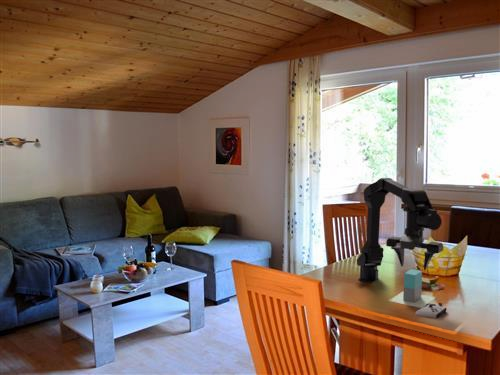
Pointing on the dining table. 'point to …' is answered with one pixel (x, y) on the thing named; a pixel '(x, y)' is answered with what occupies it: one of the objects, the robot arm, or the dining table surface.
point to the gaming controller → (432, 310)
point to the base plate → (419, 303)
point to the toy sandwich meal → (431, 284)
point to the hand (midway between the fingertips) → (413, 268)
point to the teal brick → (412, 278)
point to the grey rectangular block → (412, 294)
